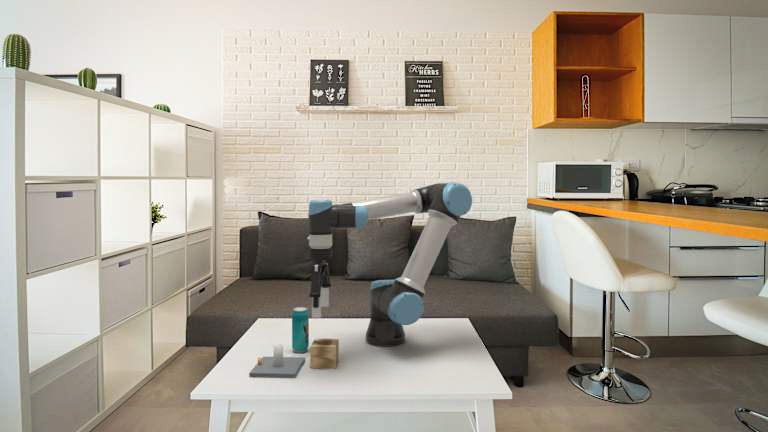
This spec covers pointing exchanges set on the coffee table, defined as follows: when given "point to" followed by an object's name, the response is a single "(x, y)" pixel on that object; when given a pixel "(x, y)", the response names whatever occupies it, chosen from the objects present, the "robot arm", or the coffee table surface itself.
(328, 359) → the wooden square frame
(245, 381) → the coffee table surface
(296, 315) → the beverage can
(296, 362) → the post base
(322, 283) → the robot arm
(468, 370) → the coffee table surface
